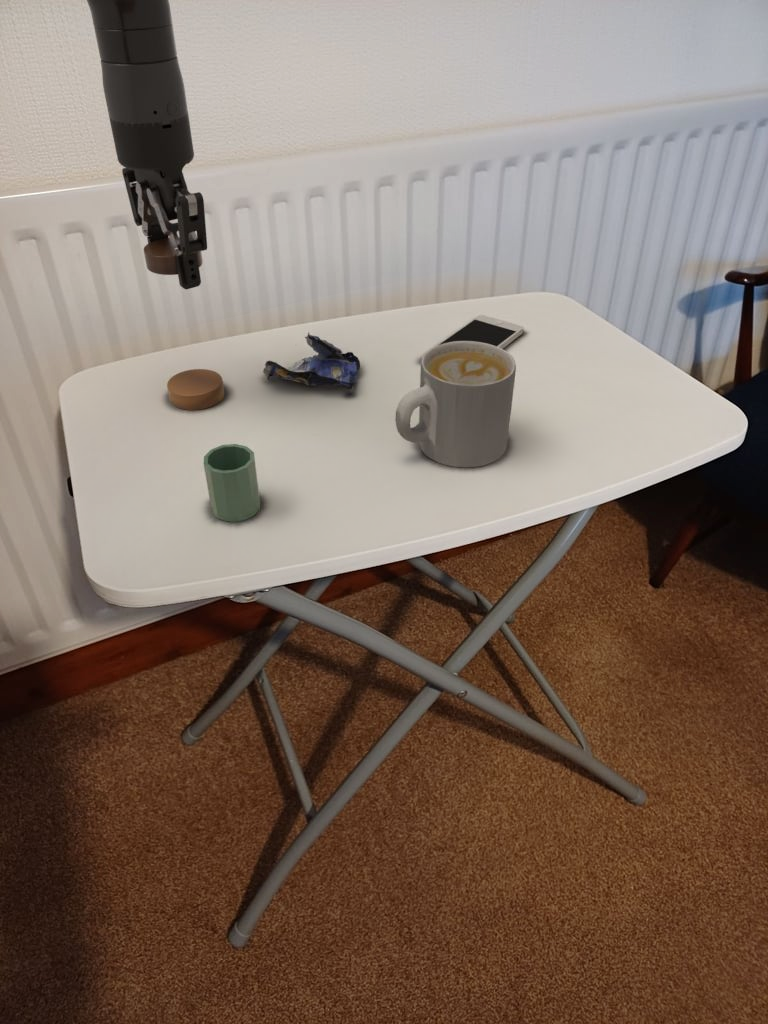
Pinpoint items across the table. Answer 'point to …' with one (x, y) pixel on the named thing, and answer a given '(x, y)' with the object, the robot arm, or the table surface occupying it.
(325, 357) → the snack package
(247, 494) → the plastic cup
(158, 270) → the walnut chip
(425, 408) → the coffee mug
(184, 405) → the oak chip
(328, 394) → the table surface
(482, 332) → the smartphone
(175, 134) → the robot arm
